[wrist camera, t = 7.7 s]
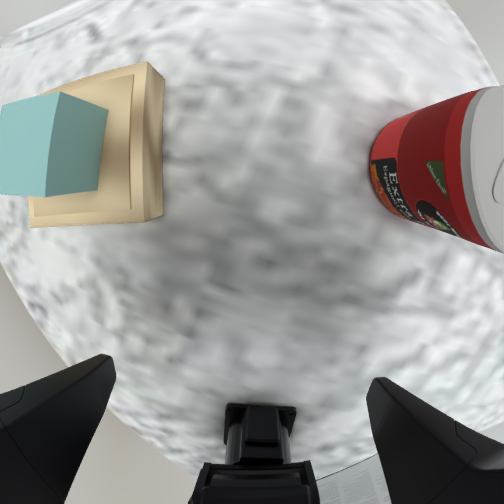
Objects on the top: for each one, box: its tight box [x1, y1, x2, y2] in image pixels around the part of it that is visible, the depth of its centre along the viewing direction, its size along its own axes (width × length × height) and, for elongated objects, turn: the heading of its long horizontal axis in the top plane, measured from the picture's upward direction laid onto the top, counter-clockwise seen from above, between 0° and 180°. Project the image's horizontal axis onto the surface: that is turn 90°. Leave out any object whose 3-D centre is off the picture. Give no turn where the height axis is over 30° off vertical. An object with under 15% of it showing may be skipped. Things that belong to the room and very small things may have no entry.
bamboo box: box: [28, 62, 165, 228], centre depth 16 cm, size 10×10×4 cm
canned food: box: [370, 86, 504, 253], centre depth 12 cm, size 8×8×11 cm
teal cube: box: [0, 91, 109, 197], centre depth 12 cm, size 5×5×5 cm
